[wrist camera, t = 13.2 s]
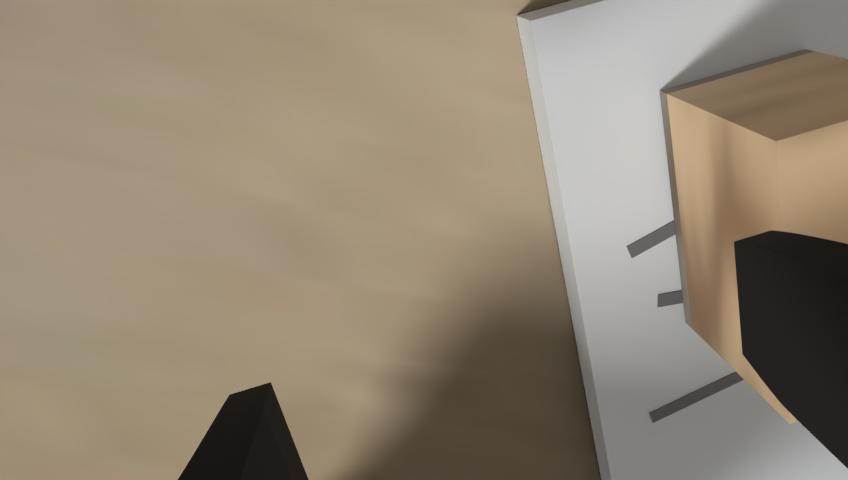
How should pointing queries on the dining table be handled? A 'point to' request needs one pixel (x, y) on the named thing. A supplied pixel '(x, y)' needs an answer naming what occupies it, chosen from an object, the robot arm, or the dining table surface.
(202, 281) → the dining table surface
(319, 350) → the dining table surface
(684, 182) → the block
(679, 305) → the board
